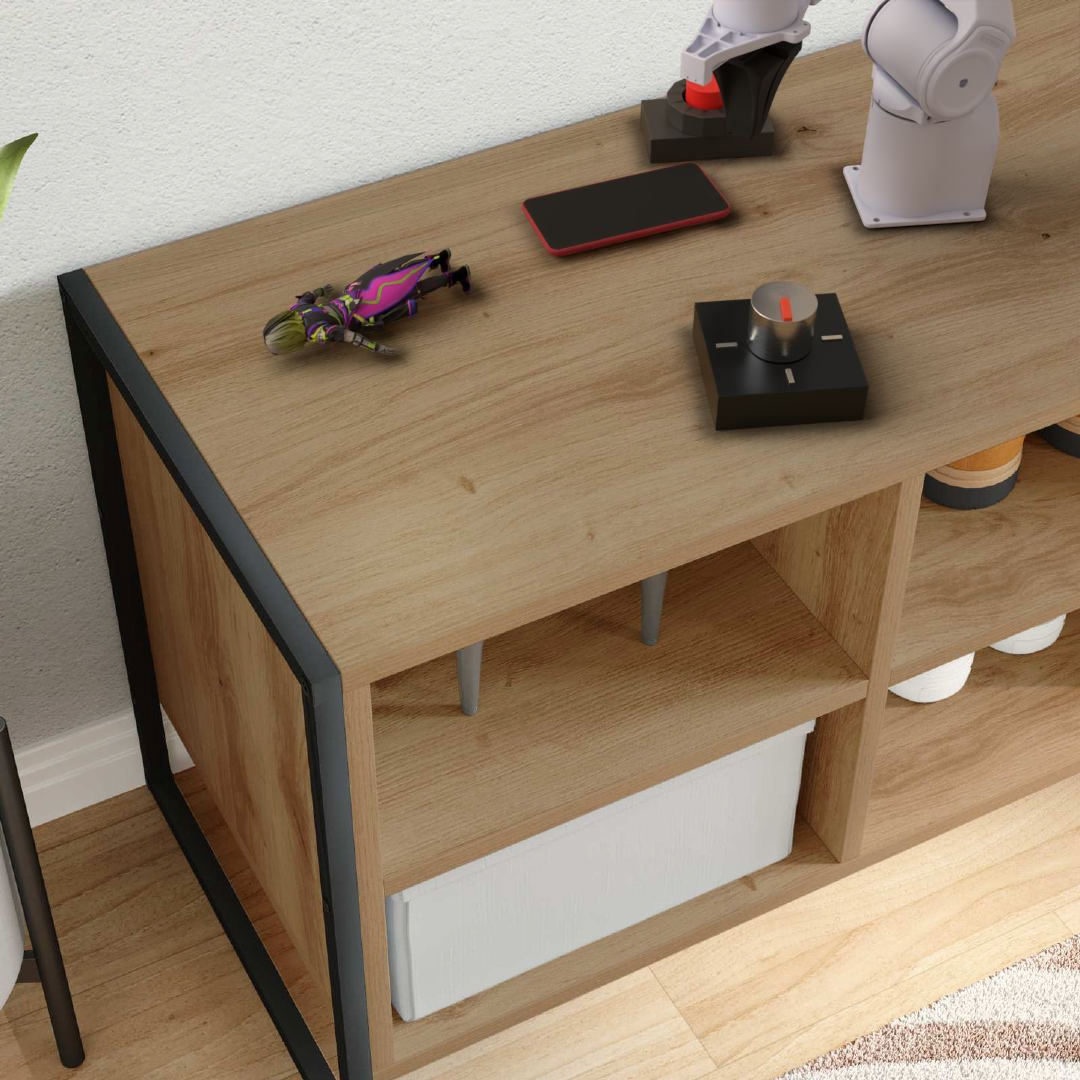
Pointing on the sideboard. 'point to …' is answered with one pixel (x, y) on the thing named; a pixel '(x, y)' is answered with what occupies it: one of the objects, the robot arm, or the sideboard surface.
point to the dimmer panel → (777, 370)
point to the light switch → (695, 131)
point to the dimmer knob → (781, 321)
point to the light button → (704, 95)
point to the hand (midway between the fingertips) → (744, 131)
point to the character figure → (363, 304)
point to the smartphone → (625, 208)
